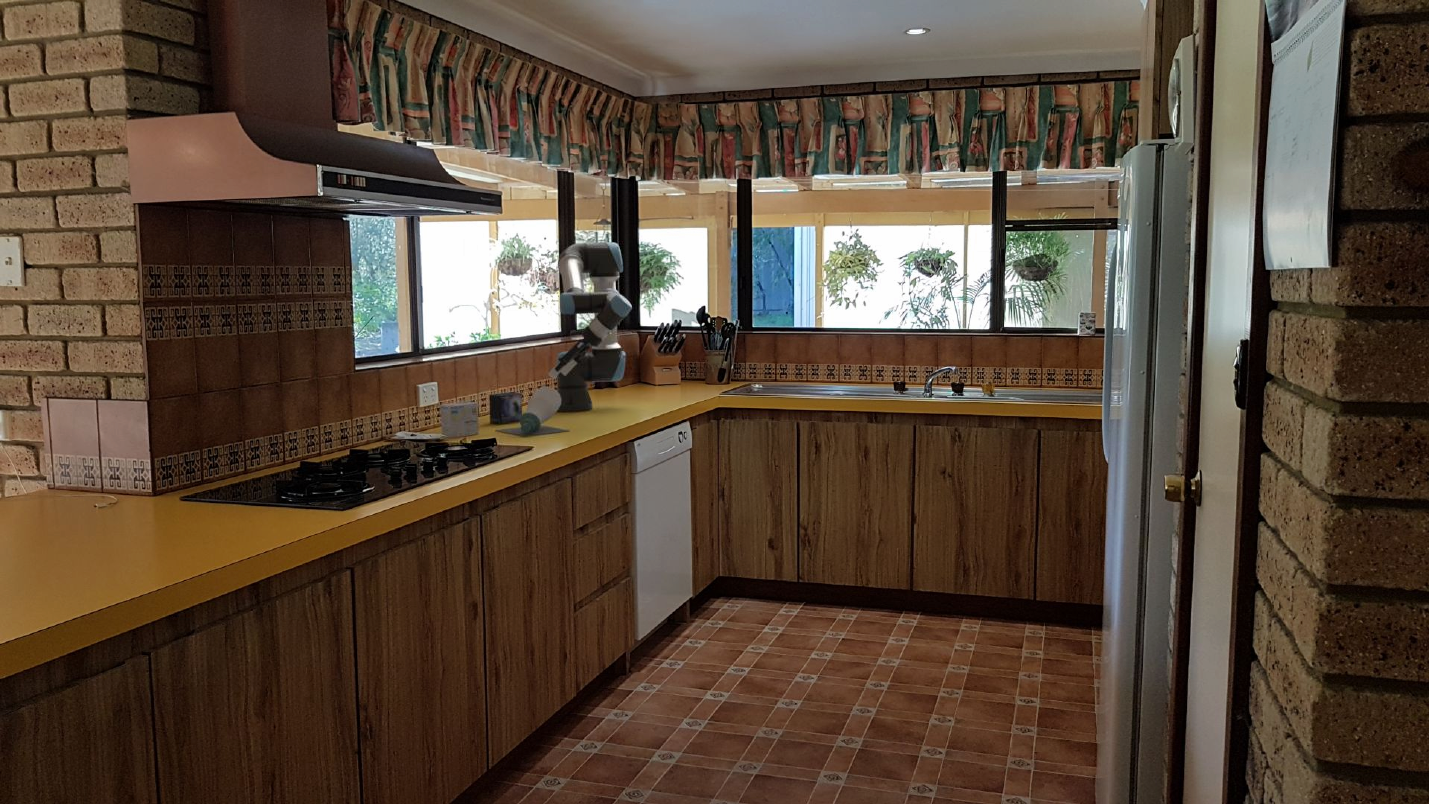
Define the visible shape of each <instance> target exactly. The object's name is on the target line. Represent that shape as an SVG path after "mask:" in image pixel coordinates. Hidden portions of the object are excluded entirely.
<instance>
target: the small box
mask: <svg viewBox="0 0 1429 804" xmlns="http://www.w3.org/2000/svg"><path fill="white" fill-rule="evenodd" d="M522 395H523V394H522V392H521V393H520V392H512V391H511V392H510V391H509V392H501V393H492V394H489V395H488V399H489V424H494V425H506V424H514V423H520V417H521V415H523V403H522V402H523V400H522V399H523V398H522Z"/></svg>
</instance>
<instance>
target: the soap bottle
mask: <svg viewBox="0 0 1429 804" xmlns="http://www.w3.org/2000/svg"><path fill="white" fill-rule="evenodd" d="M560 405H561V397H560V394H559V393H558V392H557V389H555V388H553V387H552V386H541V387H539V388H538V389H536V390H535V392H534V393H533V394H532V396H531V397H530V399H529V401H528V403H527V406H526V409H525V412H524V413H522V415H521V417H520V422H519V425H520V427H521V430H522V432H524V433H528V432H536V431H538V430H539V428H540V426H541V425H542V424H544V423H545V422H547V421H549V420H550V419H552V418H553V416H554V415H555V414H556V413H557V412H558V411H557V410H558V409H559V407H560Z"/></svg>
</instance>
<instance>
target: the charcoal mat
mask: <svg viewBox="0 0 1429 804" xmlns="http://www.w3.org/2000/svg"><path fill="white" fill-rule="evenodd" d="M494 431H495V432H498V433H504V434H510V435H513V436H514V435H515V436H519V437H524V438H525V437H527V438H528V437H534V436H543V435H551V434H552V435H553V434H559V433H567V432H570V430H569V429H565V428H558V427H553V426H546V425H542V424H541V426H540V428H539V430H538V431H536V432H528V433H524V432H522V430H521V426H519V427H518V426H517V427H510V428H503V429H495V430H494Z"/></svg>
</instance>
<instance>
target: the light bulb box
mask: <svg viewBox="0 0 1429 804" xmlns="http://www.w3.org/2000/svg"><path fill="white" fill-rule="evenodd" d="M439 408H440V423H441V424H440V425H441V436H442V435H445V436H447V437H446V438H450V439H453V438H460V437H468V436H474V435H475V436H476V435H479V434H480V431H479V414H478V409H479V408H478V402H476V401H474V402H473V401H464V402H463V401H462V402H453V403H444V404H440V405H439Z"/></svg>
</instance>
